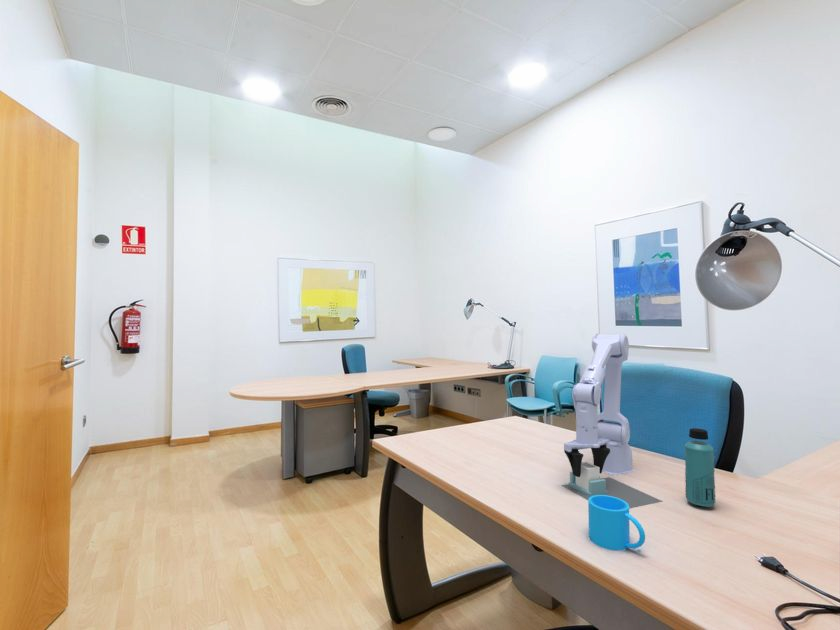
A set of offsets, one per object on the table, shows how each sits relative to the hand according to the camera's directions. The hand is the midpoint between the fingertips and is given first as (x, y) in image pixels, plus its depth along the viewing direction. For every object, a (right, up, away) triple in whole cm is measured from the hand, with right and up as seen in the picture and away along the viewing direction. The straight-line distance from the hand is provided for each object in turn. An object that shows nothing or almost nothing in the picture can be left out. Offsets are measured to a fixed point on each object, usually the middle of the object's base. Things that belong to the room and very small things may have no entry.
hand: (587, 474), depth 115 cm
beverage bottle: (+25, -5, -10) cm, 27 cm away
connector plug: (0, -4, 0) cm, 4 cm away
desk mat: (+5, -5, -3) cm, 7 cm away
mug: (-5, -5, -27) cm, 28 cm away
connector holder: (0, -4, 0) cm, 4 cm away
